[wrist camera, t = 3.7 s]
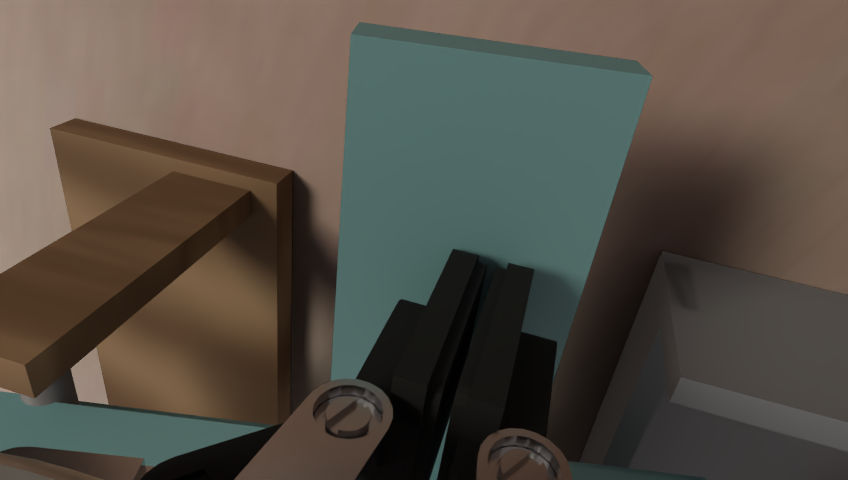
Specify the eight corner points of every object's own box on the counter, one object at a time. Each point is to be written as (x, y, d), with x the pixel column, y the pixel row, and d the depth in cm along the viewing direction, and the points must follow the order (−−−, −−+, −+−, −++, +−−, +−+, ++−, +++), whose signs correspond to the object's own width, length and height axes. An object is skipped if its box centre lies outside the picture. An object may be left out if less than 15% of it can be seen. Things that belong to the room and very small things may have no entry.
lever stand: (75, 118, 22) (-273, 253, 14) (292, 170, 21) (60, 360, 12) (127, 398, 30) (-73, 601, 21) (289, 451, 29) (146, 693, 20)
